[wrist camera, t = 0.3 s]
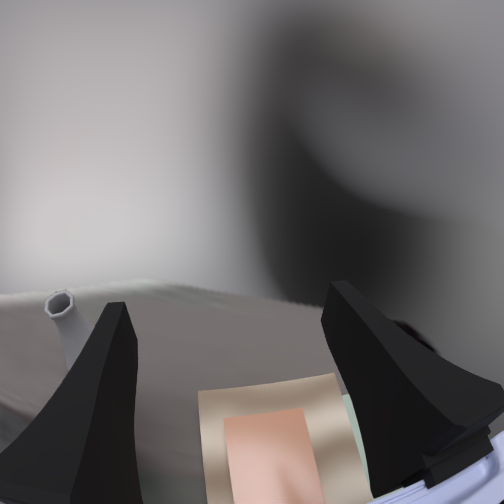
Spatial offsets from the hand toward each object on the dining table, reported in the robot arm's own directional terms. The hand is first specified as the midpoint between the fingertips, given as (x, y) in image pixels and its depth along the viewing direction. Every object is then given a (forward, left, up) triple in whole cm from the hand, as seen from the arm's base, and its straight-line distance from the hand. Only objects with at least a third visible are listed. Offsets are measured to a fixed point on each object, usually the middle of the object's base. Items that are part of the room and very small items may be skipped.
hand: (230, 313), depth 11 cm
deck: (-3, -3, -21) cm, 21 cm away
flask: (+11, +15, -21) cm, 28 cm away
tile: (-3, -2, -17) cm, 17 cm away
